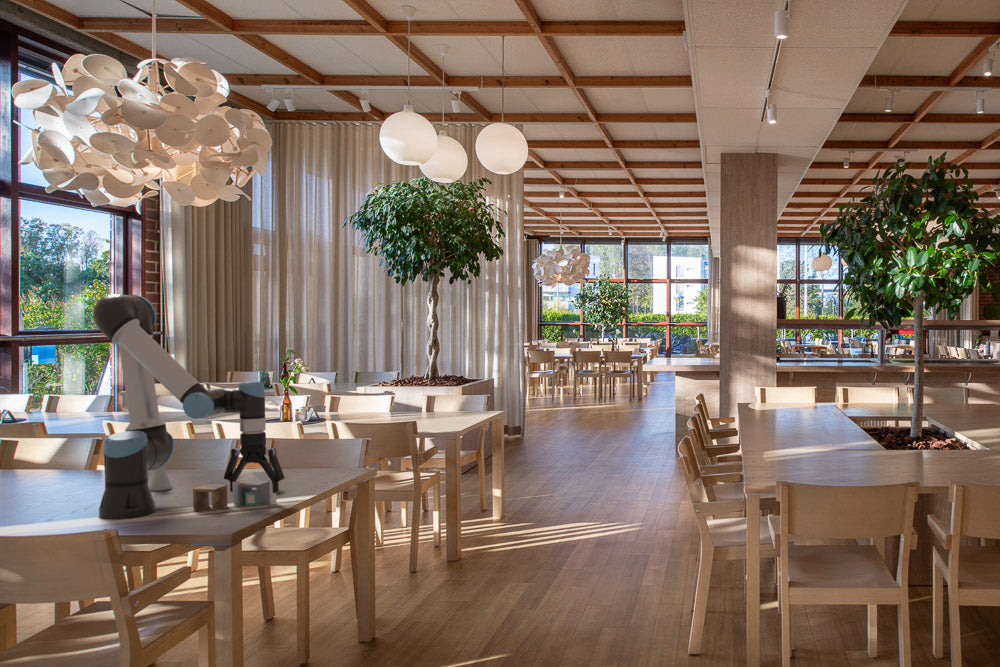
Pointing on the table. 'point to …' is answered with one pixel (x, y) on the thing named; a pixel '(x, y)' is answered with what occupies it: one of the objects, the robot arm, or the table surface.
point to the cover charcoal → (262, 491)
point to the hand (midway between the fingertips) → (254, 503)
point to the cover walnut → (203, 496)
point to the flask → (160, 480)
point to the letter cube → (251, 497)
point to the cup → (260, 475)
